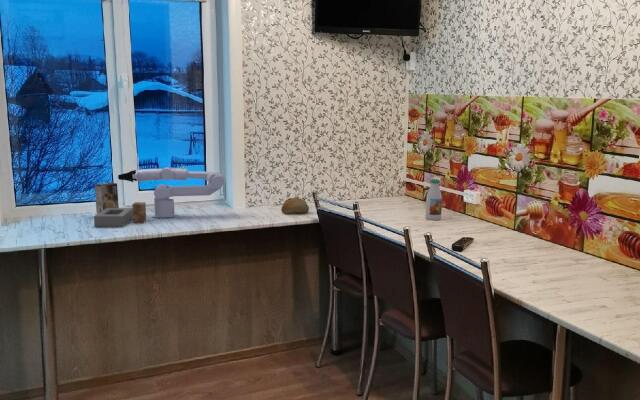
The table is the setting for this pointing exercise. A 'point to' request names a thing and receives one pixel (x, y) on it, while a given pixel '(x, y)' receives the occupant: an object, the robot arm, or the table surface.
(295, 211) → the bread roll
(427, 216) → the milk bottle
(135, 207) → the walnut block
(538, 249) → the table surface
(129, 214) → the well block
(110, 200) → the coffee box
